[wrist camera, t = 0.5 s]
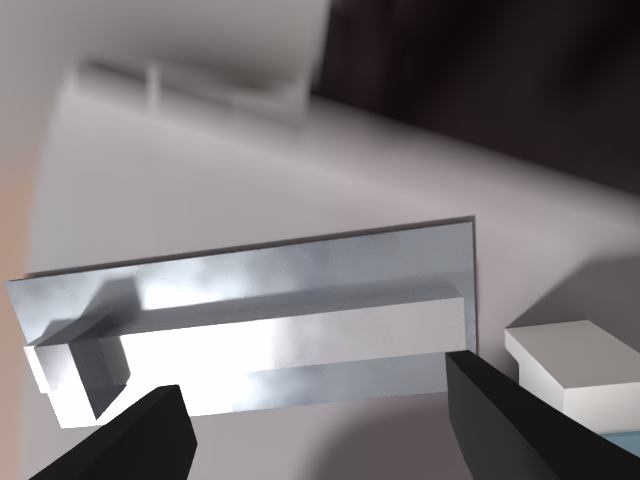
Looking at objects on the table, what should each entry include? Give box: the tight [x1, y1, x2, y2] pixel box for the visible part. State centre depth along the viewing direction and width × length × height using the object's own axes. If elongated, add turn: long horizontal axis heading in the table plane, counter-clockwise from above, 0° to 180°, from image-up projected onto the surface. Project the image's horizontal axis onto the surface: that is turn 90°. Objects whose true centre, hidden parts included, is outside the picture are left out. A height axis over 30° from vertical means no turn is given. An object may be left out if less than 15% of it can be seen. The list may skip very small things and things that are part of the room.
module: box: [505, 320, 640, 457], centre depth 17 cm, size 7×4×5 cm, turn 8°
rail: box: [4, 221, 476, 428], centre depth 18 cm, size 10×26×3 cm, turn 98°
